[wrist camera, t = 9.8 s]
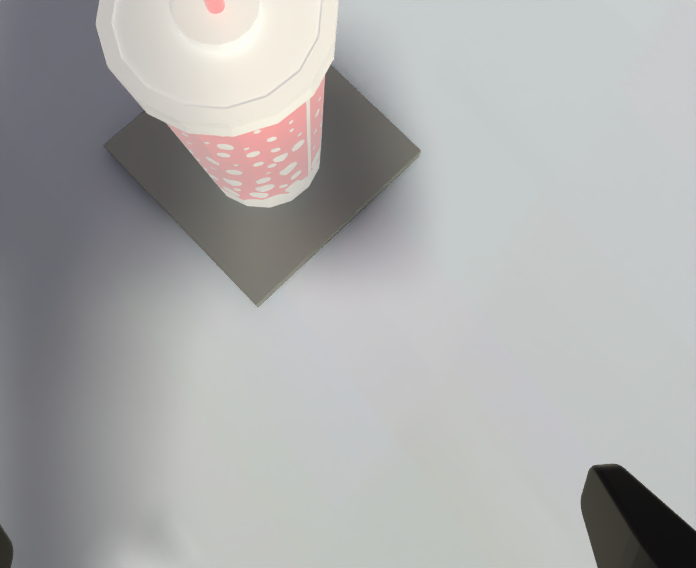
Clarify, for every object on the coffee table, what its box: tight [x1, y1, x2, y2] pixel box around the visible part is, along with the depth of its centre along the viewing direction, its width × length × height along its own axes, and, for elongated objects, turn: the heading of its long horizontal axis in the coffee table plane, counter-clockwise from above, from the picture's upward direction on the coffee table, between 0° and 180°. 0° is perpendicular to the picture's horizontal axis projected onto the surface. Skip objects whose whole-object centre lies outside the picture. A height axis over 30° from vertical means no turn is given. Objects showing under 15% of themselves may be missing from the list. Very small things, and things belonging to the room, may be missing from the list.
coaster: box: [103, 65, 421, 307], centre depth 24 cm, size 9×9×1 cm
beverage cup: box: [96, 0, 338, 208], centre depth 17 cm, size 6×6×14 cm
